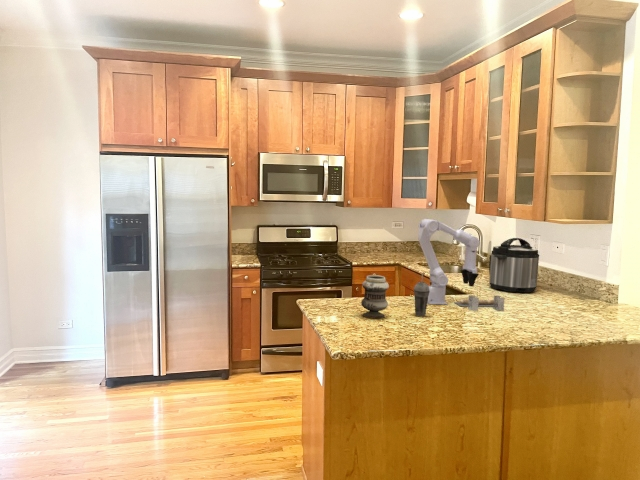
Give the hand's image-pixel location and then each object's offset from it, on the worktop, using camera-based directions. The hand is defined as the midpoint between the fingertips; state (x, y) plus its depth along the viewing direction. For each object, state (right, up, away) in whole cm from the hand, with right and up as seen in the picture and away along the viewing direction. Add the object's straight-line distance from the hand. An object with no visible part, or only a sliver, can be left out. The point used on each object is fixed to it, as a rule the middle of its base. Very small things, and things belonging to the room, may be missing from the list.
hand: (468, 284), depth 244 cm
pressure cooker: (+40, -7, +43) cm, 59 cm away
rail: (+4, -8, -4) cm, 10 cm away
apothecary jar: (-53, -11, -33) cm, 64 cm away
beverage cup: (-32, -11, -29) cm, 44 cm away
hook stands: (+4, -11, -13) cm, 18 cm away
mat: (+4, -10, -4) cm, 11 cm away
